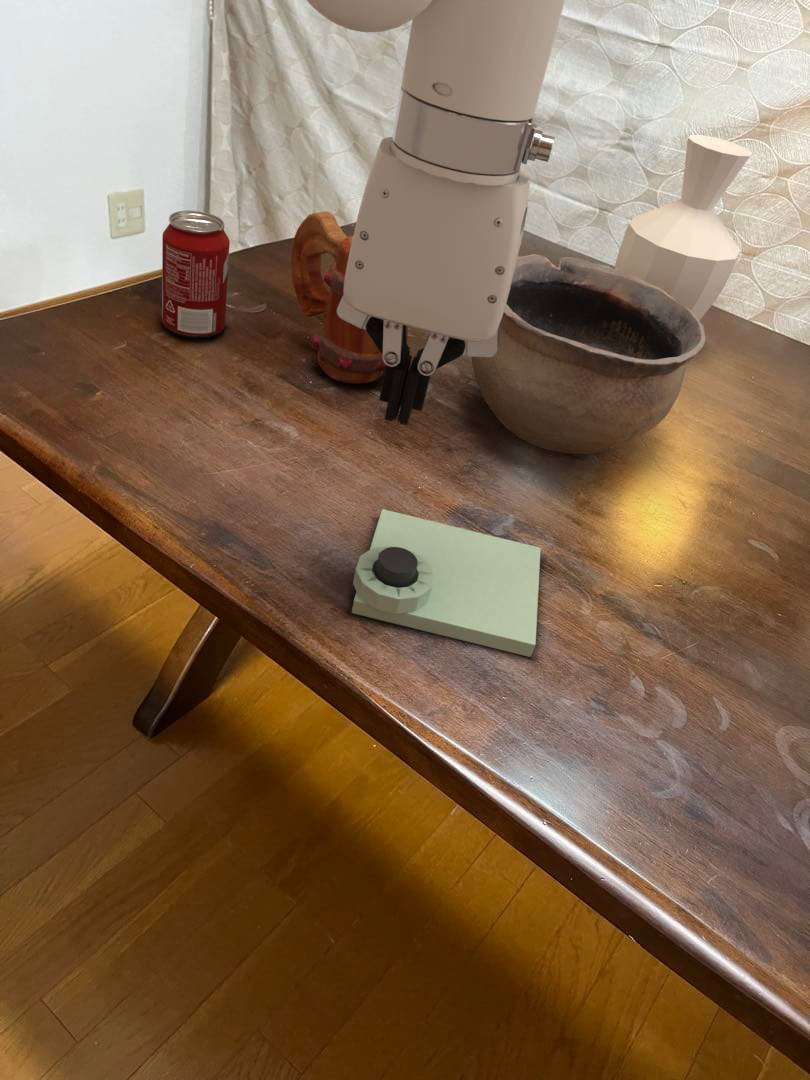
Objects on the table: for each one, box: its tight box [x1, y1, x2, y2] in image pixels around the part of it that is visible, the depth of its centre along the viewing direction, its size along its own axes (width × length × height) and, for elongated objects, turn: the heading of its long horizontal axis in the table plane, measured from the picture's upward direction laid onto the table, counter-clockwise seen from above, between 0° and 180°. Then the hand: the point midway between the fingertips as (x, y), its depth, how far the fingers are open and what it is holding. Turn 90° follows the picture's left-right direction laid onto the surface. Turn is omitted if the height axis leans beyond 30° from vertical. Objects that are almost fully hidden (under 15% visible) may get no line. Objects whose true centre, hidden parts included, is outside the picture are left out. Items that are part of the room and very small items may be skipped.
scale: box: [351, 508, 542, 658], centre depth 69 cm, size 14×12×3 cm
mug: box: [290, 211, 386, 385], centre depth 91 cm, size 15×8×15 cm, turn 47°
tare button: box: [375, 547, 418, 588], centre depth 65 cm, size 3×3×2 cm
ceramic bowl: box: [470, 253, 707, 455], centre depth 88 cm, size 22×22×15 cm
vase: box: [614, 134, 753, 322], centre depth 108 cm, size 14×14×25 cm
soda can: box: [161, 210, 231, 340], centre depth 92 cm, size 7×7×12 cm
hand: (399, 412), depth 60 cm, fingers closed
